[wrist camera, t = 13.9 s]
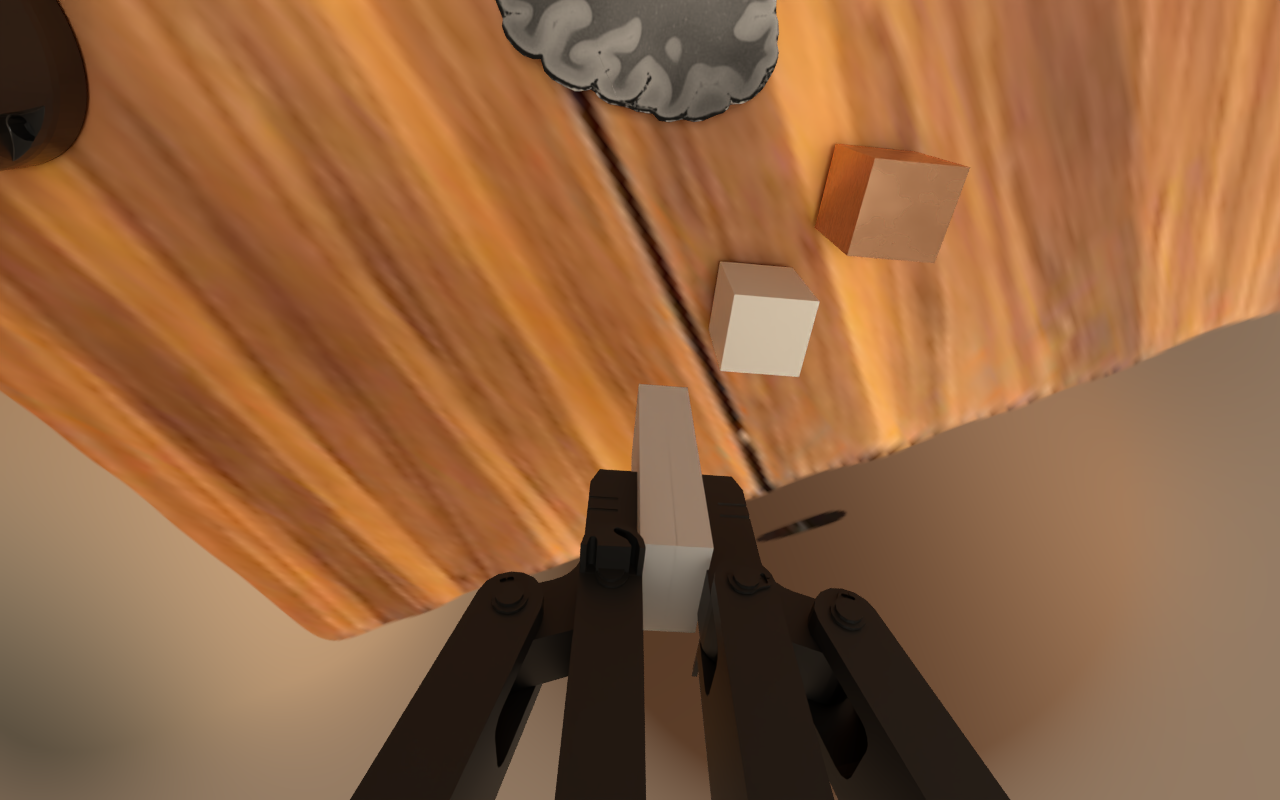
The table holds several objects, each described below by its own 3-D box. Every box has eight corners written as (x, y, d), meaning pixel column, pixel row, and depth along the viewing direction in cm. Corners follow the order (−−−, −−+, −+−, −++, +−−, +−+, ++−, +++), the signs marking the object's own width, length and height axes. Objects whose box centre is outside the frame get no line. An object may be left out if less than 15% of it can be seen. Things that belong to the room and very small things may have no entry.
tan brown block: (810, 223, 38) (847, 255, 31) (831, 142, 35) (875, 158, 29) (883, 230, 38) (934, 263, 32) (908, 149, 36) (970, 167, 29)
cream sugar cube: (708, 329, 41) (720, 370, 35) (720, 261, 38) (734, 294, 33) (776, 334, 41) (799, 376, 36) (792, 267, 39) (819, 301, 33)
